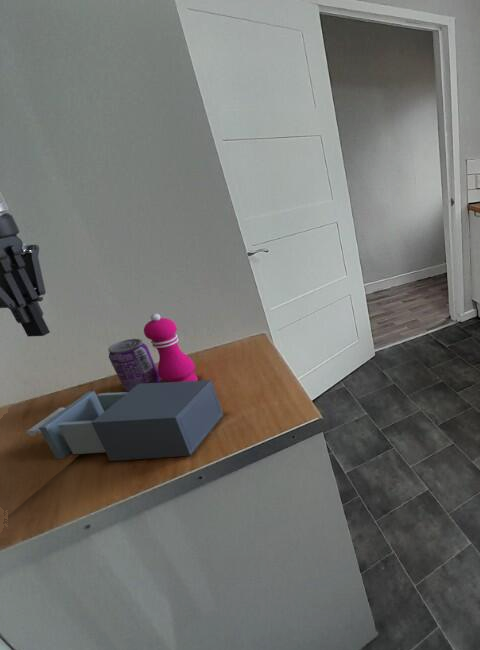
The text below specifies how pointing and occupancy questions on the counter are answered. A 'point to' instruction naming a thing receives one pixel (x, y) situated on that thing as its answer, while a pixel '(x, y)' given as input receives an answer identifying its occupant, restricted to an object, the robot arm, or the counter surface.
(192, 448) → the cabinet
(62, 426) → the drawer
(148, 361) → the beverage can
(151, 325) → the pepper mill
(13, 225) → the robot arm
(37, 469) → the counter surface
